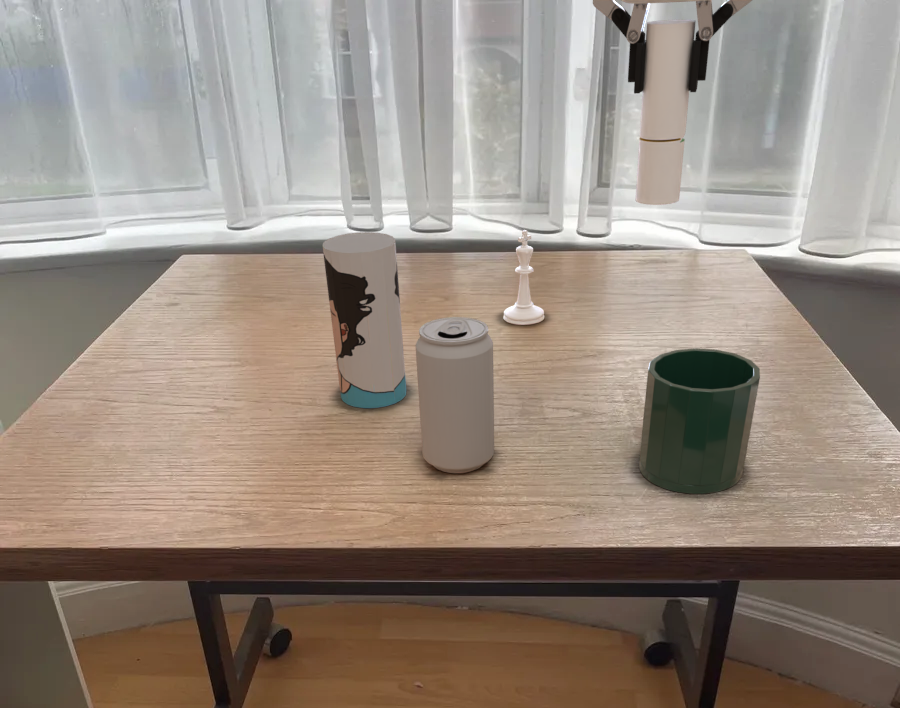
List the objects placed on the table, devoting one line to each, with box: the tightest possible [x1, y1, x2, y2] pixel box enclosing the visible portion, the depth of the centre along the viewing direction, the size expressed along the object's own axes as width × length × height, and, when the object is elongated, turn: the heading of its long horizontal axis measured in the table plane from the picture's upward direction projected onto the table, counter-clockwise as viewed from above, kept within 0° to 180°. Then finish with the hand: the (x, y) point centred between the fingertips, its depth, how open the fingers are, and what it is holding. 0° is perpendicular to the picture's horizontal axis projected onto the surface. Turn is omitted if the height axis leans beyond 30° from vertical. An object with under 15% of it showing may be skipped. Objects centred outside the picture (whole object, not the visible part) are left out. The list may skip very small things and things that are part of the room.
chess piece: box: [502, 229, 545, 326], centre depth 105 cm, size 5×5×10 cm
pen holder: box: [638, 347, 761, 495], centre depth 74 cm, size 9×9×9 cm
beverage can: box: [415, 316, 495, 474], centre depth 76 cm, size 6×6×12 cm
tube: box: [635, 18, 697, 206], centre depth 85 cm, size 4×4×15 cm
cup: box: [321, 231, 407, 409], centre depth 87 cm, size 7×7×15 cm
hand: (665, 88), depth 84 cm, fingers closed on tube, 4 cm apart
